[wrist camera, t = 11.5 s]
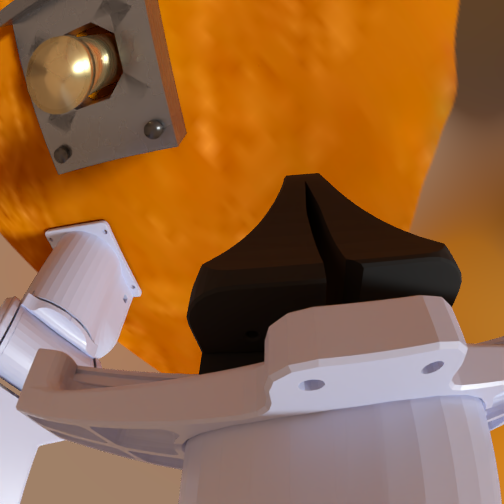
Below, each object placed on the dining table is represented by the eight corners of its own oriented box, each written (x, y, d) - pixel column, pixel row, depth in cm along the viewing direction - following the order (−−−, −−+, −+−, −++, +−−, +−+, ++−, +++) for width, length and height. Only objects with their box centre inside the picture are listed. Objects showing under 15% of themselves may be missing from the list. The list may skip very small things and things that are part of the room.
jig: (186, 133, 21) (171, 155, 18) (73, 160, 22) (48, 184, 19) (148, -48, 12) (124, -60, 9) (30, 8, 13) (-4, 13, 10)
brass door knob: (141, 76, 18) (100, 97, 13) (87, 97, 19) (40, 125, 14) (124, 19, 15) (77, 21, 10) (70, 44, 16) (17, 59, 11)
